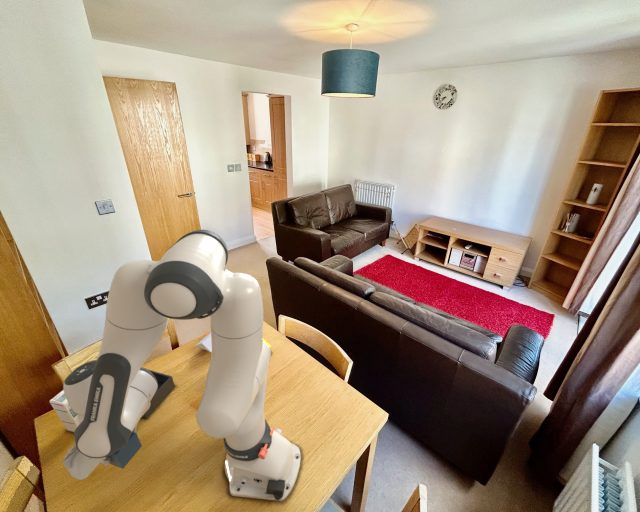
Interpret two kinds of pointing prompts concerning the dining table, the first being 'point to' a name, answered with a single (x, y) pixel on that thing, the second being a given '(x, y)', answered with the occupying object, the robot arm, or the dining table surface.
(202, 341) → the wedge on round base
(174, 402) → the dining table surface
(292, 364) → the dining table surface
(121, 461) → the small bin
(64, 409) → the syrup box
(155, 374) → the big bin
